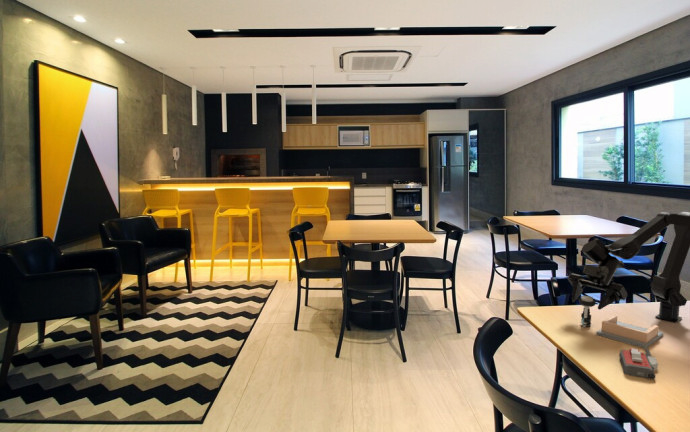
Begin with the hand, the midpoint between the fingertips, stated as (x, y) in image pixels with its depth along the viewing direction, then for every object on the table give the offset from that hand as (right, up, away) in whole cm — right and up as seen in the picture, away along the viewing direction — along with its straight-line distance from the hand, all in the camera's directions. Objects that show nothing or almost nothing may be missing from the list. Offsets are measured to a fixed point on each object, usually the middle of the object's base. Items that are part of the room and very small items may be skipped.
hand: (585, 305), depth 149 cm
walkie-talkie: (-1, -11, -28) cm, 30 cm away
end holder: (+10, -8, -8) cm, 15 cm away
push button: (+1, -8, +1) cm, 8 cm away
